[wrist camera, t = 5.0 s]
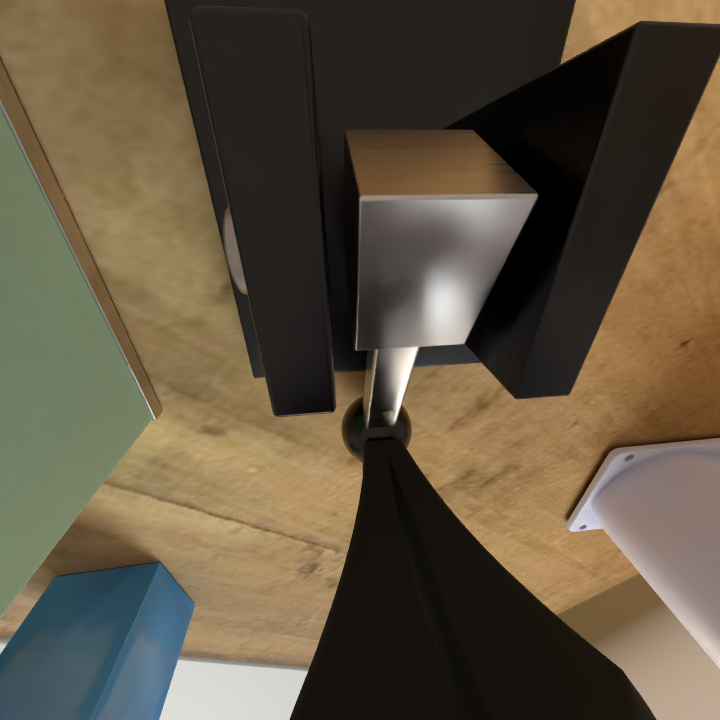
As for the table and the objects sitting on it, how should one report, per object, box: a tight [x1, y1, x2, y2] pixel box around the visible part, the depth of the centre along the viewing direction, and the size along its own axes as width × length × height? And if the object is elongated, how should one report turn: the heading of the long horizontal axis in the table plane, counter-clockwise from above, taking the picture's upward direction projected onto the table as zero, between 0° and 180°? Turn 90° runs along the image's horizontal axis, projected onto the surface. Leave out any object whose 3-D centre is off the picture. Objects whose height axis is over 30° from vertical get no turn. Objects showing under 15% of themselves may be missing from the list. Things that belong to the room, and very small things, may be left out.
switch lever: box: [342, 129, 539, 462], centre depth 8 cm, size 11×3×3 cm, turn 179°
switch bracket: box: [164, 0, 720, 417], centre depth 7 cm, size 10×9×7 cm
